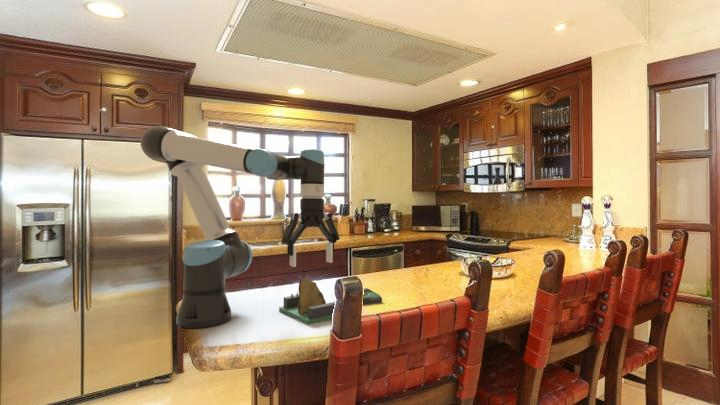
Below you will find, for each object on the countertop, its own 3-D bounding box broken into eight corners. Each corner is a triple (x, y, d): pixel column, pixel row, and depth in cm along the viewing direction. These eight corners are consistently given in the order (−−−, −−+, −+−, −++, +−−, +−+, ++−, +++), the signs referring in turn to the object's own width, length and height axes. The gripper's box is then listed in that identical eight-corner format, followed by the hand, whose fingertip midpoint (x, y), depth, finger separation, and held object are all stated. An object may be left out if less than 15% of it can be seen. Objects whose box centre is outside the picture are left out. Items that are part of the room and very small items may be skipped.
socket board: (308, 324, 106) (308, 306, 106) (279, 310, 120) (279, 295, 120) (346, 315, 115) (346, 298, 115) (315, 303, 129) (315, 288, 129)
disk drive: (342, 297, 141) (355, 306, 127) (342, 290, 141) (355, 298, 127) (367, 295, 144) (382, 303, 131) (367, 287, 145) (382, 295, 131)
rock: (324, 295, 125) (295, 294, 122) (330, 278, 121) (300, 276, 118) (327, 322, 117) (295, 321, 114) (333, 305, 112) (301, 303, 109)
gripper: (282, 196, 107) (281, 269, 107) (350, 198, 123) (349, 262, 123) (271, 197, 113) (270, 266, 113) (337, 198, 129) (336, 259, 128)
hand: (311, 264), depth 118 cm, fingers open, 13 cm apart
